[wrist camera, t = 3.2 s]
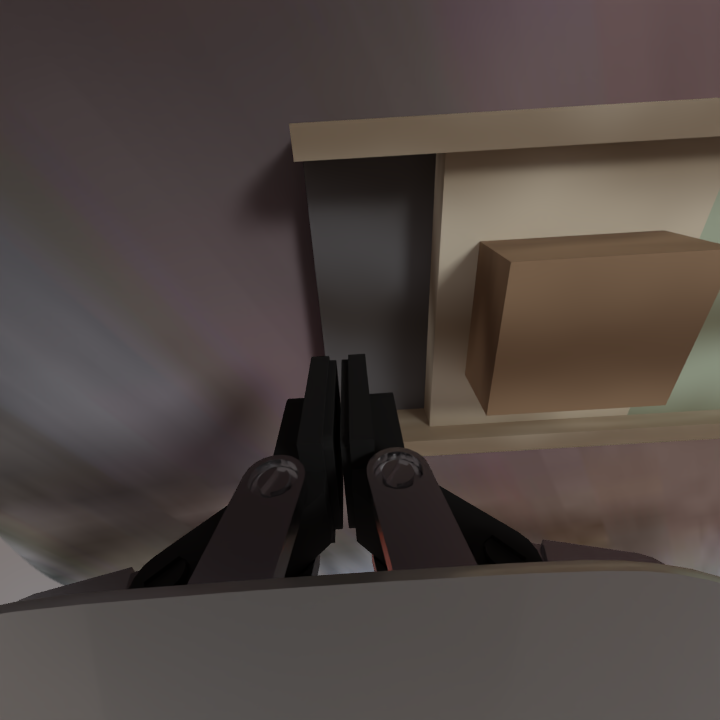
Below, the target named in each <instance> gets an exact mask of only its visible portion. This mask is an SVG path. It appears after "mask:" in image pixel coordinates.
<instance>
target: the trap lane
mask: <svg viewBox="0 0 720 720" xmlns="http://www.w3.org/2000/svg"><path fill="white" fill-rule="evenodd" d="M289 127H290V135H291V143H292V151H293V159H294V162H298V161H303V168H304V177H305V185H306V194H307V202H308V211H309V220H310V228H311V237H312V246H313V254H314V263H315V272H316V280H317V289H318V298H319V306H320V315H321V324H322V332H323V341H324V350H325V356H329V357H330V360H336V362H337V371H338V381H339V392H340V402H341V361H342V360H343V359H348V355H351V354H365V357H366V366H367V376H368V385H369V394H374V393H390V392H392V393H393V395H394V399H395V404H396V409H397V414H398V419H399V423H400V428H401V433H402V438H403V442H404V447H405V448H407V449H410V450H413V451H415V452H417V453H419V454H420V455H421V456H433V455H450V454H466V453H483V452H500V451H517V450H534V449H551V448H568V447H585V446H602V445H618V444H635V443H652V442H669V441H686V440H703V439H720V290H719V293H718V295H717V297H716V299H715V301H714V303H713V305H712V307H711V310H710V312H709V314H708V316H707V318H706V320H705V322H704V324H703V327H702V329H701V331H700V333H699V335H698V337H697V339H696V341H695V344H694V346H693V348H692V350H691V352H690V354H689V356H688V359H687V361H686V363H685V365H684V367H683V369H682V371H681V373H680V376H679V378H678V380H677V382H676V384H675V386H674V388H673V390H672V393H671V395H670V397H669V399H668V401H667V403H666V405H661V406H645V407H628V408H611V409H594V410H577V411H560V412H543V413H527V414H510V415H493V416H486V414H485V412H484V410H483V408H482V406H481V404H480V403H479V401H478V399H477V397H476V395H475V393H474V391H473V389H472V387H471V386H470V384H469V382H468V380H467V378H466V376H465V369H466V360H467V351H468V342H469V333H470V324H471V315H472V306H473V297H474V289H475V280H476V271H477V262H478V253H479V244H480V241H493V240H510V239H527V238H543V237H560V236H577V235H594V234H610V233H627V232H644V231H661V230H665V231H669V232H673V233H678V234H682V235H686V236H690V237H694V238H698V239H702V240H706V241H710V242H715V243H719V244H720V98H707V99H690V100H673V101H657V102H640V103H624V104H607V105H590V106H574V107H557V108H540V109H524V110H507V111H491V112H474V113H457V114H441V115H424V116H407V117H391V118H374V119H357V120H341V121H324V122H308V123H291V124H289Z"/></svg>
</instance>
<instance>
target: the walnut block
mask: <svg viewBox="0 0 720 720" xmlns="http://www.w3.org/2000/svg"><path fill="white" fill-rule="evenodd" d="M719 290H720V244H719V243H715V242H710V241H706V240H702V239H698V238H694V237H690V236H686V235H682V234H678V233H673V232H669V231H665V230H661V231H644V232H627V233H610V234H594V235H577V236H560V237H543V238H527V239H510V240H493V241H480V244H479V253H478V262H477V271H476V280H475V289H474V297H473V306H472V315H471V324H470V333H469V342H468V351H467V360H466V369H465V376H466V378H467V380H468V382H469V384H470V386H471V387H472V389H473V391H474V393H475V395H476V397H477V399H478V401H479V403H480V404H481V406H482V408H483V410H484V412H485V414H486V416H493V415H510V414H527V413H543V412H560V411H577V410H594V409H611V408H628V407H645V406H661V405H666V403H667V401H668V399H669V397H670V395H671V393H672V390H673V388H674V386H675V384H676V382H677V380H678V378H679V376H680V373H681V371H682V369H683V367H684V365H685V363H686V361H687V359H688V356H689V354H690V352H691V350H692V348H693V346H694V344H695V341H696V339H697V337H698V335H699V333H700V331H701V329H702V327H703V324H704V322H705V320H706V318H707V316H708V314H709V312H710V310H711V307H712V305H713V303H714V301H715V299H716V297H717V295H718V293H719Z"/></svg>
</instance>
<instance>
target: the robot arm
mask: <svg viewBox="0 0 720 720" xmlns="http://www.w3.org/2000/svg"><path fill="white" fill-rule="evenodd" d="M343 475H344V485H345V495H346V504H347V514H348V523H349V528H356V536H357V542H359V543H360V544H361V545H362V546H363V547H364V548H366V549H367V550H368V551H369V552H370V553H372V563H373V567H374V572H364V573H349V574H334V575H319V576H317V575H318V571H319V566H320V553H321V552H322V551H323V550H325V549H326V548H327V547H328V546H329V545H330V544H331V543H335V529H343ZM0 720H720V577H719V576H715V575H711V574H708V573H704V572H700V571H697V570H693V569H688V568H682V567H676V566H670V565H665V564H664V563H662V562H660V561H658V560H656V559H654V558H653V557H649V556H646V555H642V554H639V553H633V552H626V551H619V550H612V549H605V548H598V547H592V546H585V545H578V544H571V543H564V542H557V541H550V540H542V543H541V544H535V543H531V542H530V541H529V540H528V539H527V538H525V537H524V536H523V535H521V534H520V533H519V532H517V531H515V530H514V529H512V528H510V527H509V526H507V525H505V524H504V523H502V522H500V521H498V520H497V519H495V518H493V517H492V516H490V515H488V514H487V513H485V512H483V511H481V510H480V509H478V508H476V507H475V506H473V505H471V504H470V503H468V502H466V501H464V500H463V499H461V498H459V497H458V496H456V495H454V494H453V493H451V492H449V491H448V490H446V489H444V488H442V487H441V486H439V485H438V483H437V481H436V479H435V477H434V475H433V473H432V470H431V468H430V466H429V464H428V463H427V461H426V460H425V459H424V457H423V456H421V455H420V454H419V453H417V452H415V451H413V450H410V449H407V448H405V447H404V442H403V438H402V433H401V428H400V423H399V419H398V414H397V409H396V404H395V399H394V395H393V393H392V392H390V393H374V394H369V385H368V376H367V366H366V357H365V354H351V355H348V359H343V360H342V361H341V402H340V392H339V381H338V371H337V362H336V360H330V357H329V356H320V357H312V358H311V363H310V369H309V375H308V380H307V386H306V392H305V398H297V399H288V400H287V402H286V406H285V410H284V414H283V418H282V423H281V427H280V431H279V435H278V439H277V443H276V447H275V451H274V455H273V456H270V457H266V458H263V459H262V460H260V461H258V462H256V463H255V464H253V465H252V466H251V467H250V468H249V469H248V470H247V471H246V473H245V474H244V475H243V477H242V479H241V481H240V483H239V485H238V487H237V489H236V491H235V493H234V495H233V497H232V498H231V500H230V502H229V504H228V505H227V506H226V507H225V508H223V509H222V510H220V511H219V512H217V513H216V514H215V515H213V516H212V517H210V518H209V519H208V520H206V521H205V522H203V523H202V524H200V525H199V526H198V527H196V528H195V529H193V530H192V531H190V532H189V533H188V534H186V535H185V536H183V537H182V538H180V539H179V540H178V541H176V542H175V543H173V544H172V545H170V546H169V547H168V548H166V549H165V550H163V551H162V552H160V553H159V554H158V555H156V556H155V557H154V558H152V559H151V560H150V561H149V562H148V563H146V564H145V565H144V566H143V567H142V569H141V570H140V571H136V572H135V571H134V570H133V568H132V567H130V568H127V569H123V570H120V571H116V572H112V573H109V574H105V575H102V576H98V577H94V578H91V579H87V580H83V581H80V582H76V583H73V584H69V585H65V586H62V587H58V588H55V589H51V590H48V591H44V592H40V593H36V594H33V595H31V596H28V597H26V598H24V599H21V600H19V601H17V602H13V603H8V604H3V605H0Z"/></svg>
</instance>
